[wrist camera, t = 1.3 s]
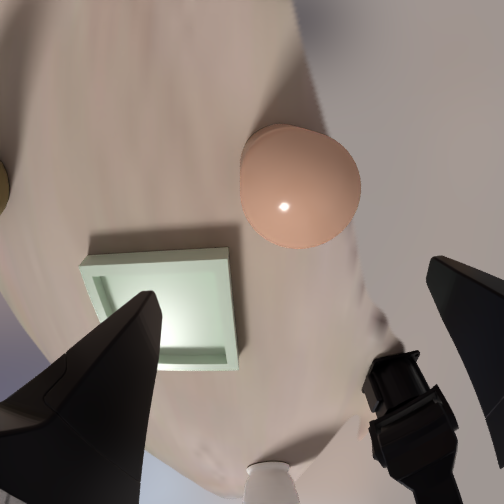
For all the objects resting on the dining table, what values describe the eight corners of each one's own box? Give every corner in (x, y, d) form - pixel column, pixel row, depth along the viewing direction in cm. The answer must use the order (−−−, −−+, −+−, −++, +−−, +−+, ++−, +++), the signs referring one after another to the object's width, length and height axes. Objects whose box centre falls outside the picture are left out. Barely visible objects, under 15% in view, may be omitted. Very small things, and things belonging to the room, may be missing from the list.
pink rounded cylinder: (322, 124, 18) (364, 133, 11) (320, 202, 20) (355, 245, 14) (238, 125, 17) (237, 132, 11) (242, 205, 20) (243, 251, 14)
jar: (259, 456, 41) (264, 530, 27) (305, 460, 43) (315, 526, 30) (231, 471, 45) (232, 534, 31) (274, 475, 47) (279, 533, 34)
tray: (228, 247, 21) (227, 258, 20) (238, 356, 27) (238, 370, 25) (87, 255, 21) (78, 266, 20) (126, 355, 27) (121, 367, 25)
